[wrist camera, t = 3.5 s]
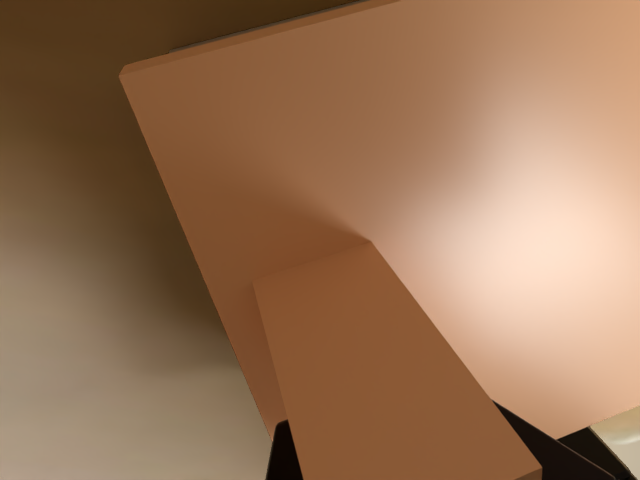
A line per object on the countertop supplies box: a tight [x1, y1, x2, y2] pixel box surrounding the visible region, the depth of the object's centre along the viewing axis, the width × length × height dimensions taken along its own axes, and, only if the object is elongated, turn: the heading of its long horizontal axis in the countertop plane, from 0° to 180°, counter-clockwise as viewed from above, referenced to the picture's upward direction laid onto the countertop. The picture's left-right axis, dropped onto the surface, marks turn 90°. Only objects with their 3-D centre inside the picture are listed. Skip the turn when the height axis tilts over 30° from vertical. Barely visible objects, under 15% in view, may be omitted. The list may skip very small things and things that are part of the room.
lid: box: [118, 0, 640, 480], centre depth 10 cm, size 13×13×8 cm
